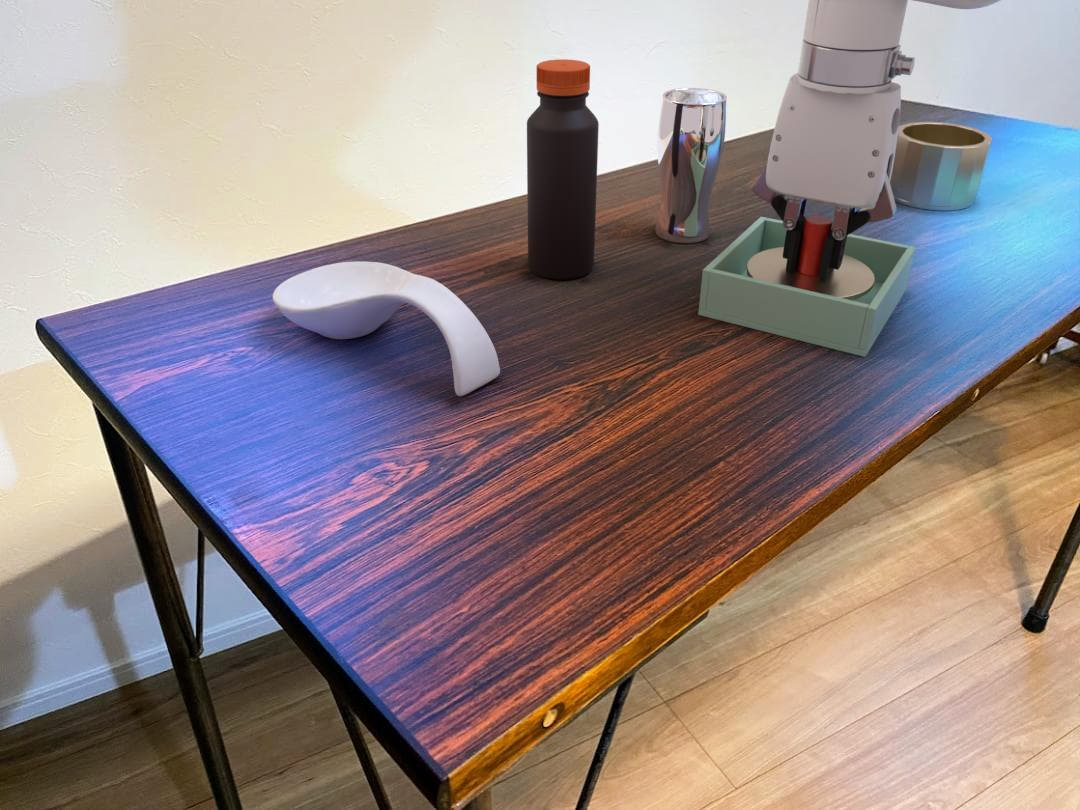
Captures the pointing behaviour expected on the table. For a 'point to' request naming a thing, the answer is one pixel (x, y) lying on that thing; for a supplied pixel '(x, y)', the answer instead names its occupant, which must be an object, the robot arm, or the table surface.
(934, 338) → the table surface
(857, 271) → the lid
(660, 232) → the silver metal tumbler
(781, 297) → the tray
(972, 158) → the pot
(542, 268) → the bottle
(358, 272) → the spoon rest
